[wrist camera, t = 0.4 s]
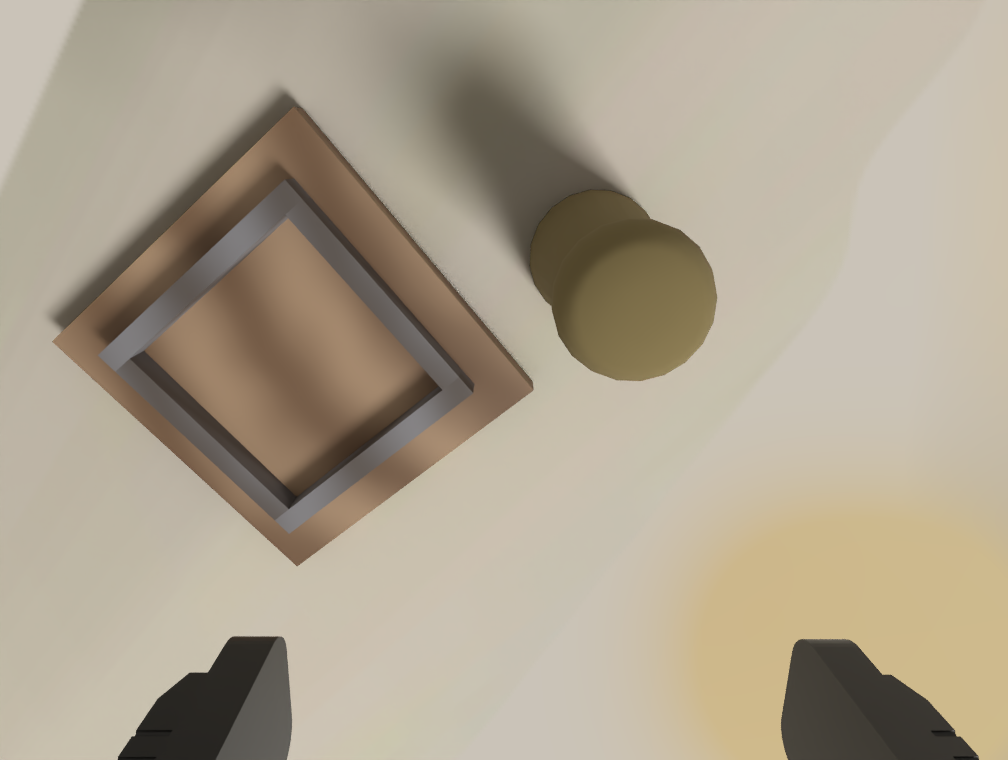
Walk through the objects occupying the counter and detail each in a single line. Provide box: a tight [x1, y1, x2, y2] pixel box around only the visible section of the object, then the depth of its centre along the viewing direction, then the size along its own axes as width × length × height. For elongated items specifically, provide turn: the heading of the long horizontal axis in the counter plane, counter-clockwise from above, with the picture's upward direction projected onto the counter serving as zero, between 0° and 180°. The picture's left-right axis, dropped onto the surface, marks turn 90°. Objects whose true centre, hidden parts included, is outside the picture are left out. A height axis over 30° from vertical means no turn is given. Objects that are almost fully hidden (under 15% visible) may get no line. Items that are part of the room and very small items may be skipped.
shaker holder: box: [52, 107, 533, 566], centre depth 29 cm, size 16×16×2 cm
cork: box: [530, 190, 717, 381], centre depth 24 cm, size 6×6×11 cm
